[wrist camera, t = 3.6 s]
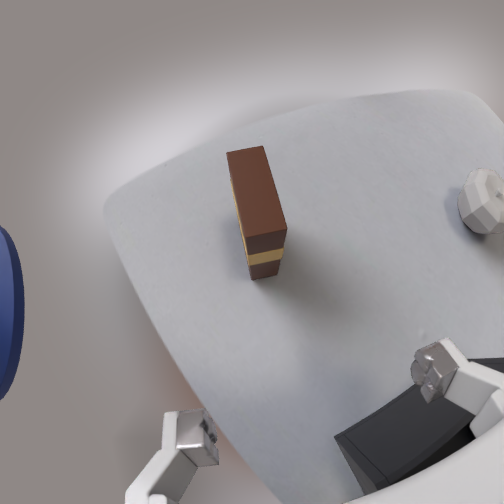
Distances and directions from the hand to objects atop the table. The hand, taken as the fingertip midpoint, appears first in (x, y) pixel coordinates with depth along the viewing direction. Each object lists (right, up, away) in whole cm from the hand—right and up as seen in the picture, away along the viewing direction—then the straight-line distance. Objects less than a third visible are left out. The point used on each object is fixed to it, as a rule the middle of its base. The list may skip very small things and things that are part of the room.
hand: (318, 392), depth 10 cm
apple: (+24, +9, +19) cm, 32 cm away
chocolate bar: (-2, +6, +18) cm, 19 cm away
